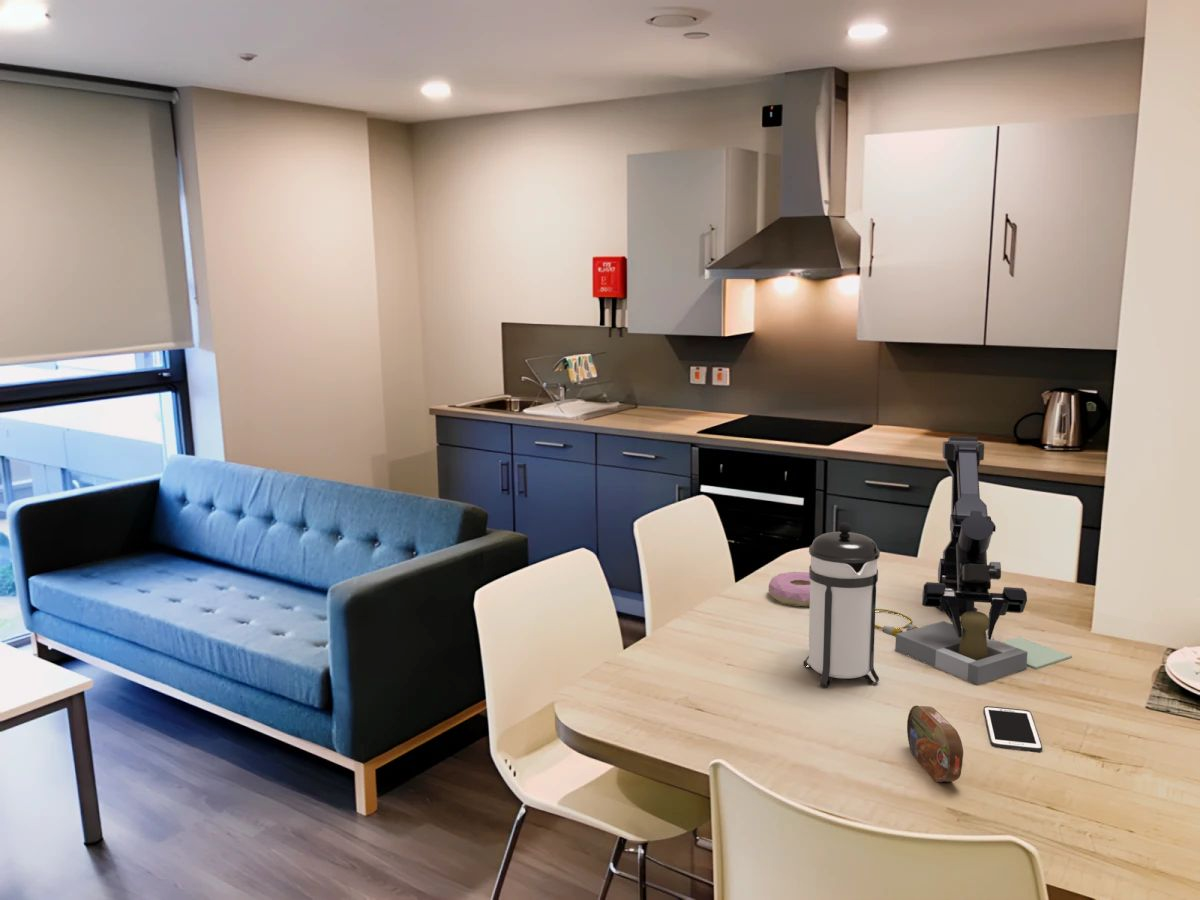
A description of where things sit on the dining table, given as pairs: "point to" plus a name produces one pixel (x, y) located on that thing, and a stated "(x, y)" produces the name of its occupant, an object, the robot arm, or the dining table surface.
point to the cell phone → (1012, 729)
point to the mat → (1038, 653)
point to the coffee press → (842, 605)
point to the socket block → (942, 652)
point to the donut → (791, 588)
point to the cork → (974, 635)
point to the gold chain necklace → (891, 629)
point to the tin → (935, 743)
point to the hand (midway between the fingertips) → (974, 637)
